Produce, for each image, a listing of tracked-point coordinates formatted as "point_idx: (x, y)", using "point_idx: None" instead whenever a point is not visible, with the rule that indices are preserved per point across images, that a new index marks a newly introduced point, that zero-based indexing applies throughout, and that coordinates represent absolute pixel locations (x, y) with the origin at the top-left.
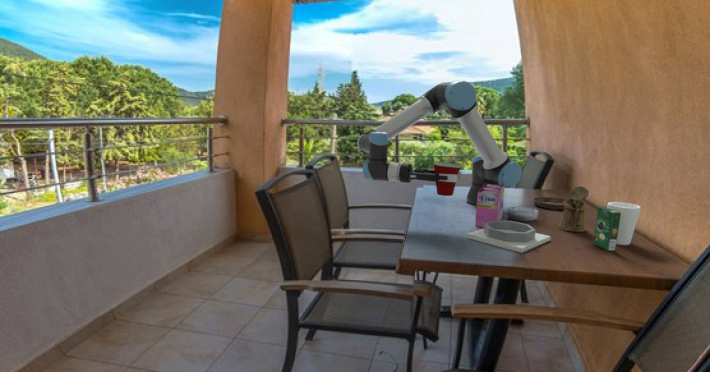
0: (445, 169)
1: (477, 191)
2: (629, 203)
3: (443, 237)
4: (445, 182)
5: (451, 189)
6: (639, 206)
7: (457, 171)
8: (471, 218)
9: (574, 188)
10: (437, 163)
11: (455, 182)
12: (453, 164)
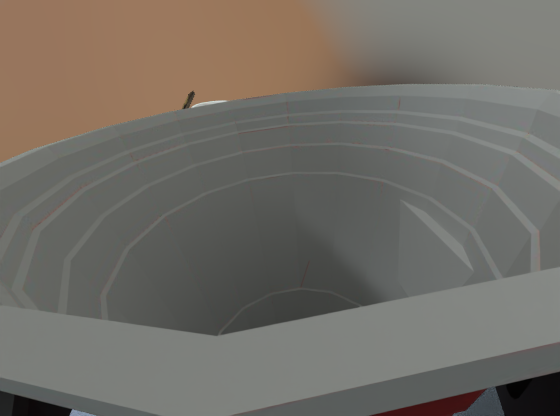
0: (467, 156)
1: None
2: (196, 104)
3: (490, 412)
4: (403, 296)
5: (333, 310)
6: (215, 101)
7: (306, 150)
8: (83, 412)
9: (189, 99)
10: (39, 321)
11: (296, 253)
12: (70, 143)
